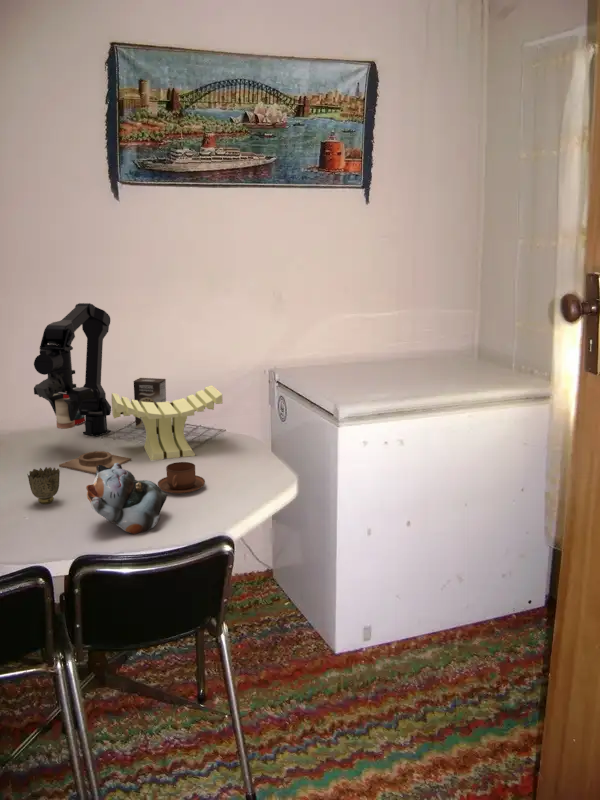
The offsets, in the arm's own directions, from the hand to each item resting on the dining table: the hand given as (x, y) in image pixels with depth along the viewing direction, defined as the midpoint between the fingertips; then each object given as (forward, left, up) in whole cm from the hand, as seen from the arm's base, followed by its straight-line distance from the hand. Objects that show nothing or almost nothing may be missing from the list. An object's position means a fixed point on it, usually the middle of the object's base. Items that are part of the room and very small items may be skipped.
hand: (65, 419), depth 221 cm
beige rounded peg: (0, 0, -2) cm, 2 cm away
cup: (+32, +26, -10) cm, 42 cm away
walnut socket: (+4, +15, -10) cm, 18 cm away
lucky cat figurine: (+32, +52, -10) cm, 62 cm away
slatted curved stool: (-16, +25, -10) cm, 31 cm away
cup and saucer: (+8, +49, -10) cm, 51 cm away
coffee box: (-34, +4, -10) cm, 35 cm away
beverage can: (-24, -22, -10) cm, 34 cm away
